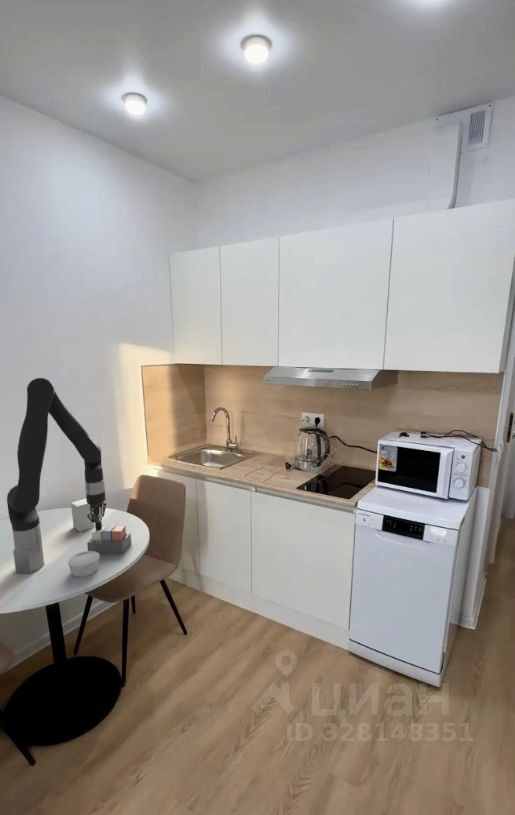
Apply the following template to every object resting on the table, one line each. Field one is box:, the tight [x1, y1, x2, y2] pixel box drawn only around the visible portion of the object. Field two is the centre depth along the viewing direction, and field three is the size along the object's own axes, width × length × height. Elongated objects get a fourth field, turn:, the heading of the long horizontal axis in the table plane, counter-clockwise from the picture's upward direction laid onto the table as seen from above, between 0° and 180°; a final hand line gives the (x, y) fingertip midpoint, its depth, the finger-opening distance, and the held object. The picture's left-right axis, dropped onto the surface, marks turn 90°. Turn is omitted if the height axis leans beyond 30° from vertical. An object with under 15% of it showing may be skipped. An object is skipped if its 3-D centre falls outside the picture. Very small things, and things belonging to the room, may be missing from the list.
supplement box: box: [70, 498, 95, 532], centre depth 186 cm, size 7×7×13 cm
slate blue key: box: [102, 525, 117, 541], centre depth 166 cm, size 5×4×5 cm
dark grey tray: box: [86, 532, 132, 555], centre depth 166 cm, size 9×15×5 cm, turn 86°
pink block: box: [112, 525, 127, 541], centre depth 165 cm, size 5×4×5 cm
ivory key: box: [91, 526, 106, 541], centre depth 166 cm, size 5×4×5 cm
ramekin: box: [67, 550, 101, 578], centre depth 151 cm, size 11×11×5 cm
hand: (98, 529), depth 166 cm, fingers closed
